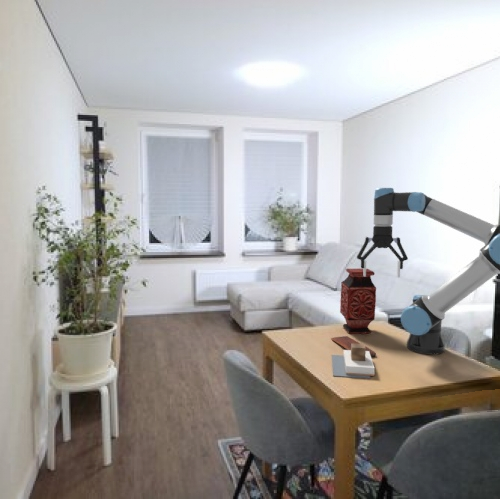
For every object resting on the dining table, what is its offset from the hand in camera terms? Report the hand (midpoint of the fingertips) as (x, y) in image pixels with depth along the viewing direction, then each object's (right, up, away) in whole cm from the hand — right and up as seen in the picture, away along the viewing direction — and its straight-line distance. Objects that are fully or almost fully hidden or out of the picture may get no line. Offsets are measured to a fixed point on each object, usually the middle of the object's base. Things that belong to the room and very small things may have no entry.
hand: (381, 276), depth 182 cm
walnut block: (-14, -30, -16) cm, 37 cm away
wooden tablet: (-11, -31, +7) cm, 34 cm away
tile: (-9, -32, -17) cm, 37 cm away
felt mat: (-17, -33, -15) cm, 40 cm away
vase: (-3, -29, +32) cm, 43 cm away
